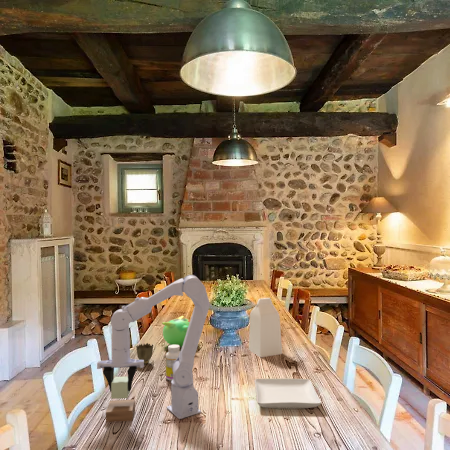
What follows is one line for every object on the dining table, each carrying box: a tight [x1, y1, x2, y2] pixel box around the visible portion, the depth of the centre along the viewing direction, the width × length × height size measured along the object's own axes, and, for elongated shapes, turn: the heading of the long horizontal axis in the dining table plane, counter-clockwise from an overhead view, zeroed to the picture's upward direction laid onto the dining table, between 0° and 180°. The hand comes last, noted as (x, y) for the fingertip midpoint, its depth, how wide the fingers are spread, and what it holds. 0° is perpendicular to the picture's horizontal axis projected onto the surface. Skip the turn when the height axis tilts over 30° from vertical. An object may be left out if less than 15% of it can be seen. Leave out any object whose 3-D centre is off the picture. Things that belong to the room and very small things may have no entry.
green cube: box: [110, 376, 131, 400], centre depth 123 cm, size 5×5×5 cm
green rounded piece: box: [161, 315, 191, 348], centre depth 196 cm, size 18×17×15 cm
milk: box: [248, 297, 283, 358], centre depth 186 cm, size 12×12×26 cm
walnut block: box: [105, 398, 136, 423], centre depth 123 cm, size 8×8×4 cm
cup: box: [135, 342, 154, 365], centre depth 171 cm, size 8×7×8 cm
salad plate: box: [254, 378, 322, 409], centre depth 135 cm, size 21×21×3 cm
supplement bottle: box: [165, 344, 181, 382], centre depth 153 cm, size 7×7×13 cm
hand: (120, 390), depth 123 cm, fingers closed on green cube, 5 cm apart
